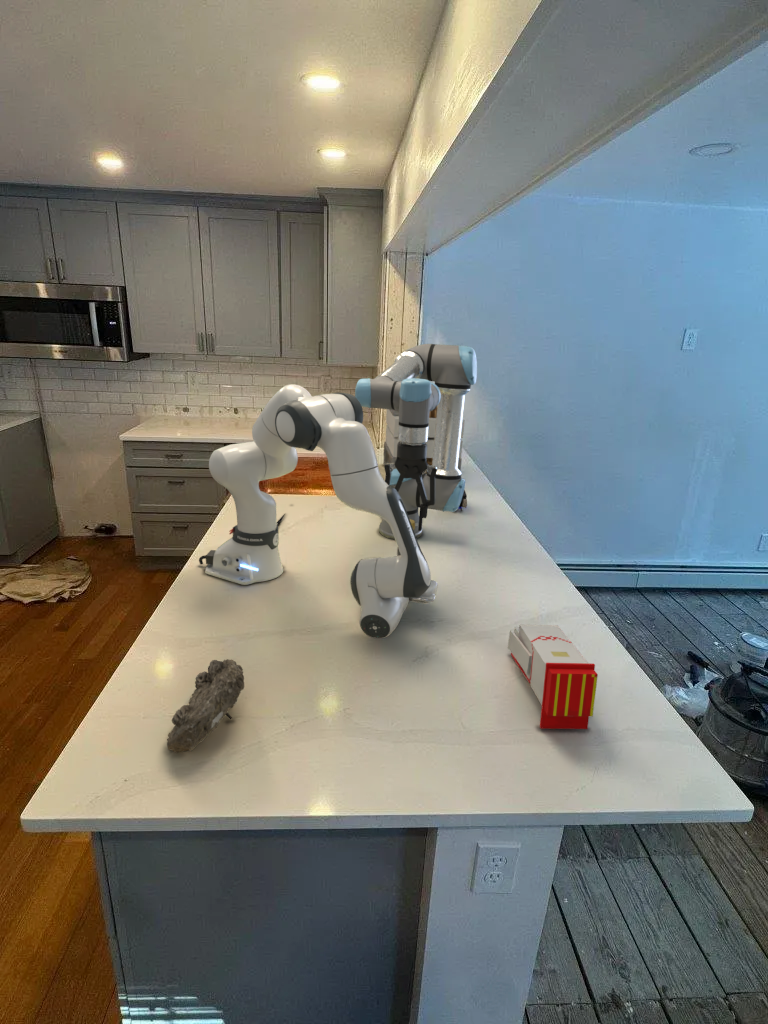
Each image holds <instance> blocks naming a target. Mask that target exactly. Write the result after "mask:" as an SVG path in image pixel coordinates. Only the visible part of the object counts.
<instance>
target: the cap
mask: <svg viewBox="0 0 768 1024" xmlns="http://www.w3.org/2000/svg"><path fill="white" fill-rule="evenodd" d="M410 522H411V525H412V527H413V530H414V529H415V521H414V520H411V519H410Z"/></svg>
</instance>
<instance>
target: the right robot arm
mask: <svg viewBox="0 0 768 1024" xmlns="http://www.w3.org/2000/svg"><path fill="white" fill-rule="evenodd" d="M477 376H478V360H477V354H476V351H475V349H474V348H473V347H471V346H466V345H461V344H459V345H456V344H440V343H439V344H438V343H423V344H418V345H415V346H412V347H410V348H407V349H405V350H403V351H402V352H400V353H399V354H397V356H396V357H395V359H394V361H393V363H391V364H390V365H389V366H388V367H386V369H385V370H383V371H382V372H380V373H379V374H378V375H377V376H376V377H374V378H369V377H368V378H360V379H358V381H357V383H356V384H355V389H354V392H355V393H354V396H355V397H356V398H357V399H358V401H359V402H360V404H361V406H362V408H368V409H381V410H387V409H391V410H399V424H398V440H399V442H398V443H397V459H396V461H395V462H393V463H388V462H387V463H386V464H385V466H384V465H383V468H384V472H385V476H384V477H385V478H384V481H385V482H386V483H387V484H388V485H389V486H390V487H393V488H395V489H396V490H397V492H398V493H399V495H400V497H401V499H402V502H403V504H404V506H405V509H406V511H407V514H408V517H409V519H411V520H414V521H415V529H414V533H415V536H416V538H417V539H418V538H420V537H421V536H422V535H423V520H424V519H427V518H428V510H434V511H439V512H440V511H441V512H448V513H449V512H450V513H454V512H456V511H457V510H458V508H459V505H460V503H461V500H462V496H463V493H464V490H465V489H466V479H464V478H462V470H461V471H460V470H459V469H458V458H459V448H460V439H461V440H462V438H461V429H462V419H464V408H465V398H466V395H467V394H468V393H469V392H470V391H471V386H474V385H476V383H477ZM433 382H434V383H433ZM436 407H437V416H436V427H435V438H434V449H433V460H432V465H428V463H427V461H426V456H427V444H426V442H427V441H428V427H429V426H428V425H429V413H430V411H432V410H434V409H435V408H436ZM394 467H396V469H394ZM425 472H426V473H425ZM459 509H460V508H459ZM378 533H379V534H380V535H381V536H382V537H385V538H387V539H389V540H395V538H394V535H393V533H392V530H391V527H390V525H389V524H388V523H387V521H385V520H384V519H383V518H381V522H379V525H378Z"/></svg>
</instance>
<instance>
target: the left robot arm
mask: <svg viewBox="0 0 768 1024" xmlns="http://www.w3.org/2000/svg"><path fill="white" fill-rule="evenodd" d="M363 422H364V411H363V406H361V404H360V402H359V401H358V399H357V398H356V397H355V395H353V394H351V393H347V392H341V391H339V392H337V391H336V392H332V393H323V394H316V395H315V394H314V395H312V394H311V392H309V390H307V389H306V388H305V387H303V386H302V385H299V384H294V383H292V384H291V383H289V384H286V385H284V386H283V387H281V388H279V390H277V392H275V394H274V395H272V397H271V398H270V399H269V400H268V402H267V403H266V405H265V406H264V407H263V409H262V410H261V411H260V414H259V415H258V417H257V418H256V420H255V421H254V423H253V425H252V427H251V436H252V441H246V442H238V443H232V444H231V443H230V444H229V445H225V446H222V447H219V448H218V449H215V450H213V451H212V453H211V454H210V457H209V460H208V470H209V473H210V475H211V477H212V479H213V480H214V481H215V482H216V483H217V484H219V485H220V486H221V487H224V488H225V489H226V490H227V491H228V492H229V494H230V495H231V497H232V499H233V501H234V505H235V515H236V525H234V526H233V527H232V528H231V529H230V530H229V531H228V532H229V534H228V535H232V537H230V538H229V539H228V540H226V541H225V542H224V543H222V544H220V545H219V546H218V547H217V548H216V550H214V549H211V550H209V552H207V553H206V554H205V555H202V556H200V557H199V558H198V562H199V565H204V562H203V560H205V564H206V567H205V571H204V572H205V574H206V575H209V576H213V577H216V578H218V579H222V580H225V581H227V582H228V581H229V582H231V583H235V584H238V585H242V586H247V585H251V584H255V583H260V582H261V583H262V582H268V581H271V580H274V579H277V578H278V577H280V576H281V575H282V574H283V573H284V567H283V564H282V561H281V557H280V550H279V544H280V543H279V541H280V538H279V537H280V534H279V533H280V532H279V526H278V525H277V524H278V523H277V522H278V519H277V503H276V500H275V499H274V497H273V496H272V495H270V494H269V493H267V492H266V491H262V490H261V489H260V482H261V481H262V482H263V481H267V480H271V479H278V478H281V477H283V476H285V475H288V474H290V473H292V472H294V470H295V469H296V468H297V465H298V462H299V455H298V451H297V449H302V450H306V451H308V452H309V451H310V452H313V451H314V450H315V449H316V448H317V447H318V448H320V450H322V451H323V453H325V455H326V459H327V462H328V463H327V464H328V470H329V475H330V480H331V485H332V488H333V491H334V493H335V496H336V498H337V499H338V500H339V501H340V502H341V503H342V504H344V505H345V506H347V507H349V508H351V509H353V510H356V511H361V512H365V513H369V514H371V515H375V516H378V517H380V518H381V519H384V520H385V521H387V523H388V524H389V525H390V527H391V530H392V533H393V535H394V538H395V539H394V540H395V543H396V546H397V547H398V549H399V551H400V554H401V555H400V556H397V555H391V556H384V557H383V556H382V557H381V556H378V557H369V558H361V559H359V561H358V562H357V563H356V564H355V566H354V568H353V570H352V572H351V575H350V580H349V581H350V582H349V583H350V589H351V592H352V595H353V599H354V600H355V601H356V602H357V604H358V605H359V607H360V615H359V626H360V629H361V631H362V632H363V634H365V635H366V636H368V637H370V638H372V639H385V638H387V637H389V636H390V635H391V634H392V633H393V632H394V631H395V629H397V626H398V625H399V623H400V621H401V619H402V617H403V614H404V613H405V611H406V609H407V607H408V605H409V603H416V604H417V603H418V604H424V605H426V604H430V603H433V602H434V601H435V599H436V596H437V594H438V588H439V587H438V586H439V584H438V582H437V581H436V580H434V579H432V574H431V569H430V566H429V564H428V561H427V559H426V557H425V555H424V553H423V551H422V549H421V547H420V544H419V541H418V538H416V536H415V533H414V530H413V527H412V525H411V522H410V519H409V517H408V514H407V511H406V509H405V506H404V504H403V502H402V499H401V497H400V495H399V493H398V492H397V490H396V489H395V488H393V487H390V486H389V485H388V484H387V483H386V482H385V478H383V475H382V473H381V472H380V468H379V463H378V459H377V455H376V451H375V450H376V449H375V447H374V444H373V441H372V438H371V436H370V434H369V431H368V429H367V427H366V426H365V425H364V424H363Z"/></svg>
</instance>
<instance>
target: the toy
mask: <svg viewBox="0 0 768 1024" xmlns="http://www.w3.org/2000/svg"><path fill="white" fill-rule="evenodd" d="M507 649H508V650H509V652H510V656H511V658H512V659H513V661H514V662H515V664H516V665H517V666H518V668H519V670H520V672H521V673H522V675H523V676H524V677H525V679H526V681H527V682H528V684H529V686H530V688H531V690H532V691H533V693H534V694H535V696H536V699H537V700H538V702H539V703H540V705H541V709H540V720H539V728H540V729H541V730H542V729H545V730H546V729H550V730H551V729H553V730H556V729H557V730H588V728H589V720H590V719H589V718H590V717H593V716H594V710H595V709H594V708H595V701H596V692H597V686H598V685H597V683H598V673H597V671H596V664H595V663H589V662H588V661H587V660H586V659H587V658H585V657H584V655H582V653H581V652H580V651H579V649H578V648H577V647H576V646H575V644H574V643H573V642H572V641H571V639H570V638H569V637H568V636H567V634H565V632H564V631H563V630H562V628H561V627H560V626H559V625H558V624H556V625H555V624H518V626H514V630H509V635H508V643H507Z"/></svg>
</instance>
